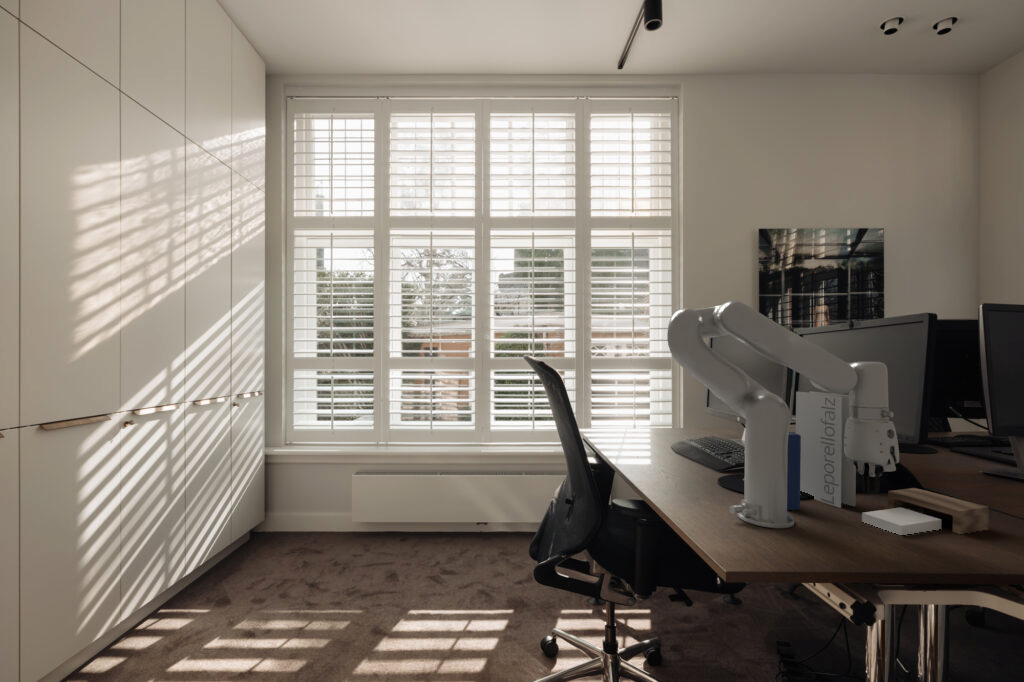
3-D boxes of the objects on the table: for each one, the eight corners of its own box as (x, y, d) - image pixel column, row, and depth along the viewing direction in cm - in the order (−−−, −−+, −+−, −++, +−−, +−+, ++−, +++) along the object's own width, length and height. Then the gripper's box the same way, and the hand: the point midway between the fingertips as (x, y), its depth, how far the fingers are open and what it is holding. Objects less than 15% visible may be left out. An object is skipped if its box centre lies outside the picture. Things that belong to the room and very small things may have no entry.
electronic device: (802, 509, 129) (803, 434, 129) (784, 510, 128) (785, 434, 128) (777, 498, 138) (778, 428, 139) (760, 499, 138) (761, 428, 138)
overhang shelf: (960, 534, 113) (960, 511, 113) (887, 511, 128) (887, 491, 128) (988, 529, 117) (988, 506, 117) (914, 508, 132) (914, 487, 132)
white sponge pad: (901, 536, 112) (901, 525, 112) (862, 522, 120) (862, 512, 120) (941, 529, 116) (941, 519, 116) (900, 516, 125) (900, 507, 125)
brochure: (794, 492, 144) (795, 391, 145) (808, 491, 146) (810, 391, 146) (840, 508, 131) (841, 396, 131) (855, 506, 133) (856, 396, 133)
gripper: (914, 417, 109) (917, 499, 108) (849, 409, 123) (851, 482, 123) (891, 419, 106) (893, 503, 106) (827, 411, 120) (829, 485, 120)
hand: (870, 492), depth 114 cm, fingers closed
